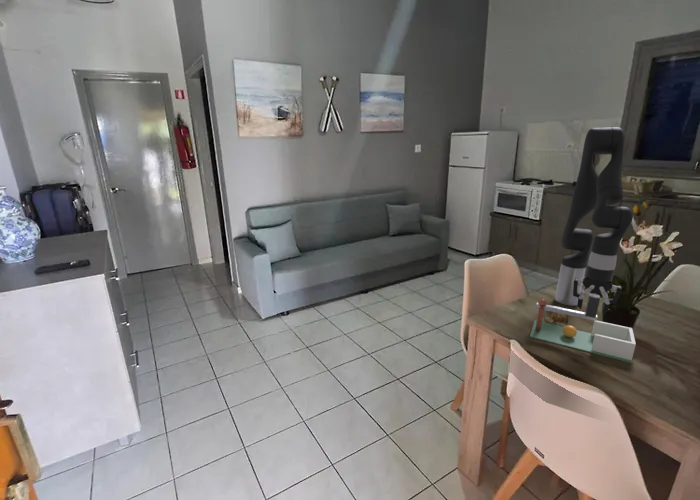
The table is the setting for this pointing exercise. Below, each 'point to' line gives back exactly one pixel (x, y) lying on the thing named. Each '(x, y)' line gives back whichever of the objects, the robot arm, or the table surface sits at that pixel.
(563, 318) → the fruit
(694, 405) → the table surface
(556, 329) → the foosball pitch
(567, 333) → the ball
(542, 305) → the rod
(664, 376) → the table surface
